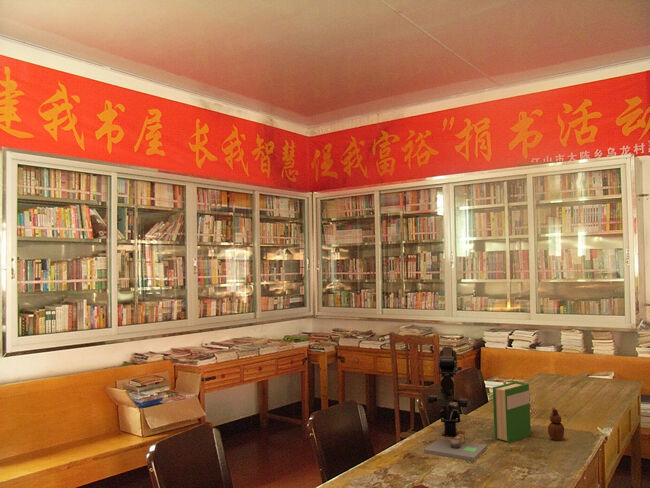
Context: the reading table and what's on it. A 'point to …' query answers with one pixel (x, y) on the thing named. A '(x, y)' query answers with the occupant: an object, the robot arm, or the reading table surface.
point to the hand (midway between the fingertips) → (449, 420)
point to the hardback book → (511, 411)
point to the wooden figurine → (555, 426)
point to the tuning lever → (457, 440)
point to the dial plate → (456, 449)
